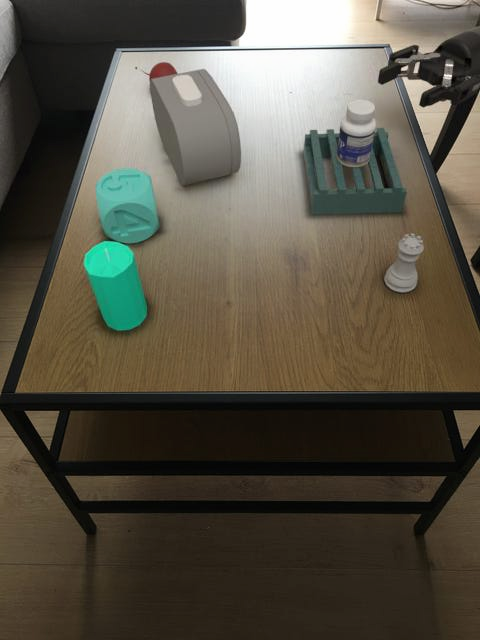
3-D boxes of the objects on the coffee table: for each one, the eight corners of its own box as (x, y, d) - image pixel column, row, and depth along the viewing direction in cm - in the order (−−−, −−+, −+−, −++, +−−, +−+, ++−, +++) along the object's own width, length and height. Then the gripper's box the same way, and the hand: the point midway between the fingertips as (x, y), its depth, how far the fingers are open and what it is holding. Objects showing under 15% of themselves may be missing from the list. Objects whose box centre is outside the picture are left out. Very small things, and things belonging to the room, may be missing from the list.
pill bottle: (336, 148, 87) (343, 96, 80) (369, 149, 87) (378, 97, 80) (336, 167, 84) (343, 115, 77) (370, 169, 83) (380, 117, 76)
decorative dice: (161, 239, 82) (153, 197, 75) (108, 248, 81) (96, 206, 75) (156, 206, 87) (148, 164, 80) (106, 213, 86) (94, 171, 79)
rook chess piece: (377, 275, 76) (388, 233, 70) (405, 267, 77) (418, 224, 71) (394, 298, 73) (406, 256, 67) (422, 289, 74) (437, 246, 68)
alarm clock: (243, 188, 89) (241, 113, 78) (187, 201, 87) (178, 127, 77) (206, 123, 101) (200, 51, 90) (157, 134, 99) (145, 62, 89)
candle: (100, 302, 74) (77, 238, 65) (143, 292, 75) (126, 227, 66) (106, 335, 71) (83, 272, 61) (151, 324, 72) (135, 260, 62)
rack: (383, 152, 94) (388, 127, 90) (401, 212, 84) (408, 187, 80) (303, 154, 94) (305, 129, 90) (311, 214, 84) (314, 190, 81)
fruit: (161, 92, 112) (136, 59, 107) (183, 78, 110) (159, 44, 105) (158, 108, 109) (132, 75, 103) (181, 94, 106) (156, 59, 101)
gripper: (441, 16, 88) (370, 47, 82) (516, 48, 81) (444, 84, 75) (429, 62, 94) (363, 93, 88) (498, 95, 87) (430, 131, 81)
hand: (400, 89), depth 82 cm, fingers open, 8 cm apart
